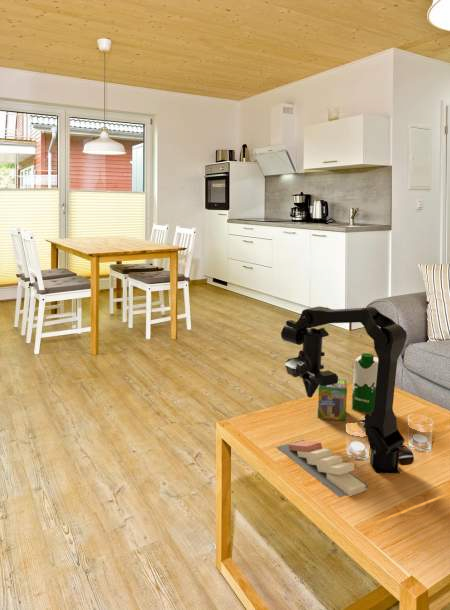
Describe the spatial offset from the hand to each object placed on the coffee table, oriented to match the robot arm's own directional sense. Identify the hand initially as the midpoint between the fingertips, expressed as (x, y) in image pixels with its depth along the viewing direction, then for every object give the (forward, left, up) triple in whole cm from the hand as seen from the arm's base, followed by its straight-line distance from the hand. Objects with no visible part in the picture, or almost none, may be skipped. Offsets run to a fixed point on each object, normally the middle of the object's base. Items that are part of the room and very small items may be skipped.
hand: (309, 397), depth 155 cm
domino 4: (-1, +22, -11) cm, 24 cm away
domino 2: (+3, +14, -11) cm, 18 cm away
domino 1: (+5, +10, -11) cm, 16 cm away
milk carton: (-23, -20, -12) cm, 33 cm away
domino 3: (+1, +18, -11) cm, 21 cm away
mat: (0, +20, -12) cm, 23 cm away
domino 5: (-3, +25, -11) cm, 28 cm away
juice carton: (-10, -14, -12) cm, 21 cm away
